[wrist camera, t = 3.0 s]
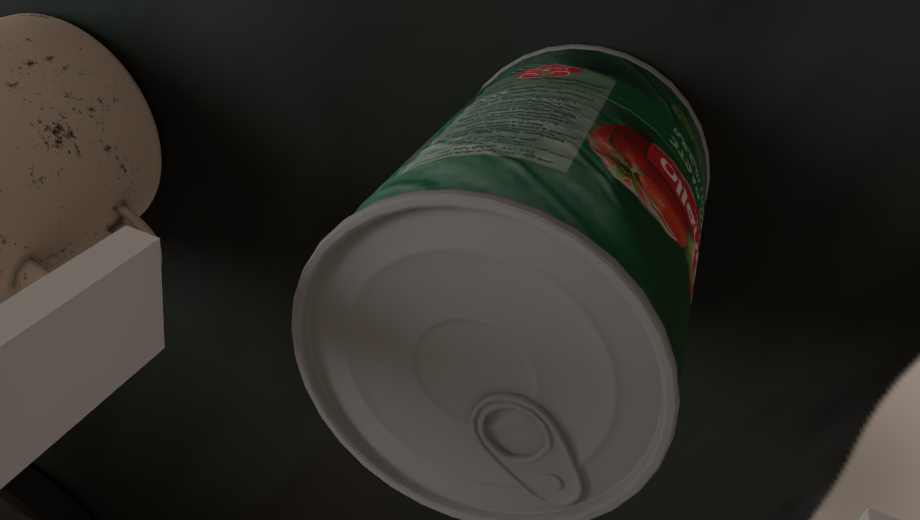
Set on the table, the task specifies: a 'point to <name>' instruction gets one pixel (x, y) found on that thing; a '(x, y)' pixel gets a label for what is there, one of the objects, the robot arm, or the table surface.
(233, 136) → the table surface
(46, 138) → the teacup with lid
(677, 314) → the canned tomato
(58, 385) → the robot arm
